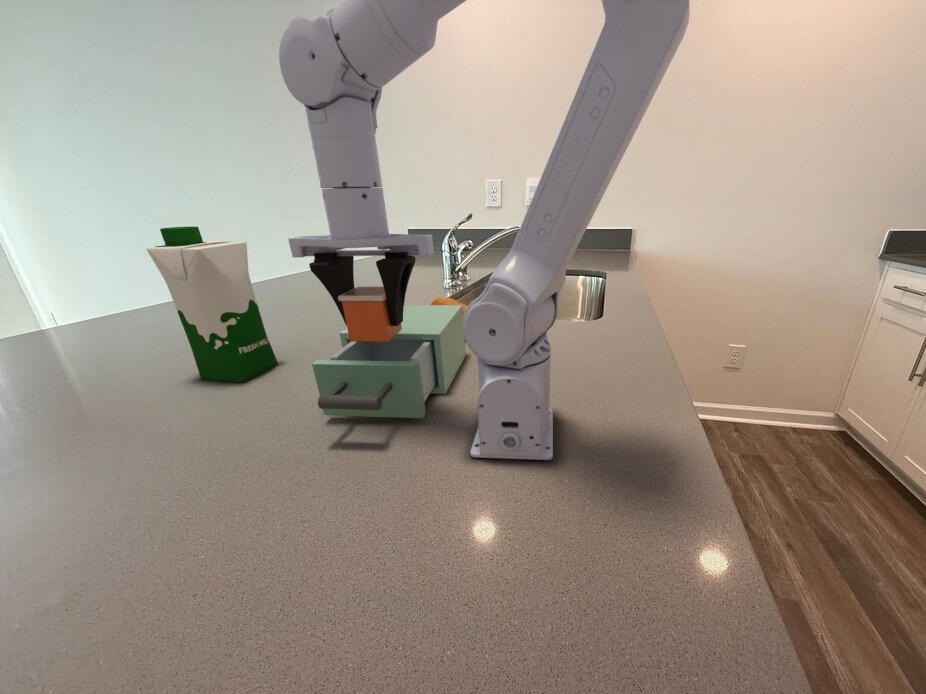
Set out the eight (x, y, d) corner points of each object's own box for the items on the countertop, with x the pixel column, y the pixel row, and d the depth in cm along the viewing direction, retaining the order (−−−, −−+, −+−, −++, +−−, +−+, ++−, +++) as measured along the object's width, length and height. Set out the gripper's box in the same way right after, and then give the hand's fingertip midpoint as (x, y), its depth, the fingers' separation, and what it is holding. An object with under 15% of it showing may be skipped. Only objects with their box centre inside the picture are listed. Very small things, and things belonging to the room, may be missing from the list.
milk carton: (239, 358, 65) (194, 225, 56) (288, 362, 63) (250, 224, 55) (189, 381, 57) (129, 230, 49) (244, 386, 56) (191, 230, 47)
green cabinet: (445, 394, 52) (439, 333, 49) (351, 391, 53) (339, 332, 50) (465, 355, 64) (462, 305, 61) (388, 354, 66) (381, 304, 62)
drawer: (409, 441, 41) (400, 385, 38) (301, 438, 42) (285, 382, 39) (448, 372, 56) (444, 328, 53) (369, 371, 57) (361, 328, 54)
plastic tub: (389, 342, 44) (382, 296, 42) (347, 342, 44) (337, 296, 42) (404, 328, 48) (398, 286, 46) (365, 328, 48) (357, 286, 46)
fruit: (413, 327, 74) (431, 286, 72) (451, 342, 78) (469, 304, 76) (424, 340, 67) (444, 296, 65) (465, 356, 71) (485, 315, 70)
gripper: (435, 187, 43) (447, 313, 48) (304, 190, 44) (330, 313, 50) (415, 186, 36) (431, 332, 42) (262, 190, 37) (298, 331, 43)
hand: (375, 323), depth 45 cm, fingers closed on plastic tub, 4 cm apart
